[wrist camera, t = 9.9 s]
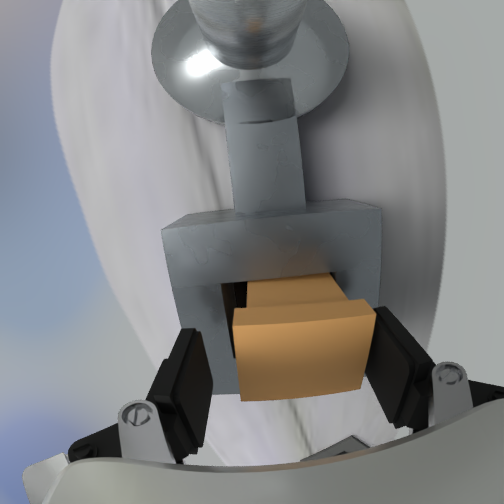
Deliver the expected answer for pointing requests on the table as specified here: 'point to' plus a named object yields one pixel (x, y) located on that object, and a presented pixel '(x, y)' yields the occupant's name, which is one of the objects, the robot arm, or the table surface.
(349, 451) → the miniature traffic light
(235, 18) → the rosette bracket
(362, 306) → the tan flared block
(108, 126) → the table surface
